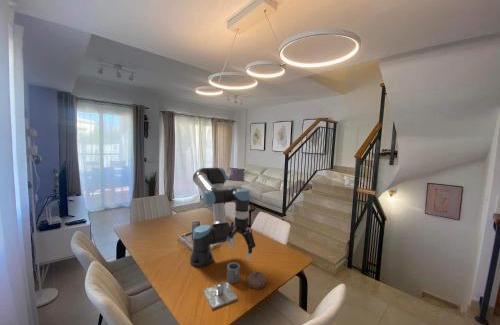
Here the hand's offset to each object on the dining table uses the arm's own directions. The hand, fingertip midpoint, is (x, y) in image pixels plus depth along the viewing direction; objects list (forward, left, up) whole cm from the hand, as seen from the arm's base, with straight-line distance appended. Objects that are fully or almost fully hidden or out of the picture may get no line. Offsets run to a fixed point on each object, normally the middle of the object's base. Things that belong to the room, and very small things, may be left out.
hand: (239, 253), depth 116 cm
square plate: (+3, -13, -19) cm, 23 cm away
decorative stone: (+3, +10, -19) cm, 22 cm away
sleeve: (-6, -1, -19) cm, 20 cm away
